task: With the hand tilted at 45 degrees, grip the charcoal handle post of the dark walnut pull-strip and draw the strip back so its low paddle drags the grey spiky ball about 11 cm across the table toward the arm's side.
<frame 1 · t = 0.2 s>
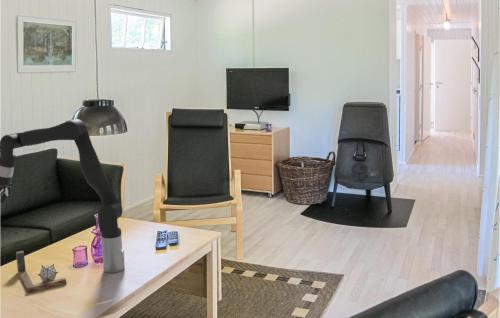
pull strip: (40, 267, 225), point 5 cm above the table, slide at 0.0 cm
grey spiky ball: (48, 282, 223), on the table
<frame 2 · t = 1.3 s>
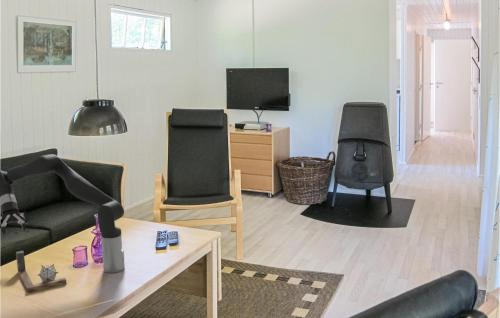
hand: (14, 232, 239), 17 cm above the table, tool tilted 45°, fingers open, 8 cm apart
nothing on the table moved.
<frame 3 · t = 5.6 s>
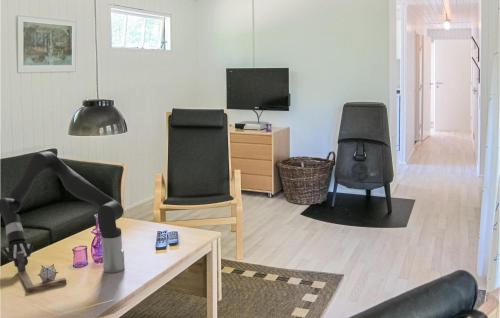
hand: (21, 265, 230), 4 cm above the table, tool tilted 45°, fingers closed on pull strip, 3 cm apart
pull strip: (40, 267, 225), point 5 cm above the table, slide at 0.0 cm, touching gripper
everything else where it was.
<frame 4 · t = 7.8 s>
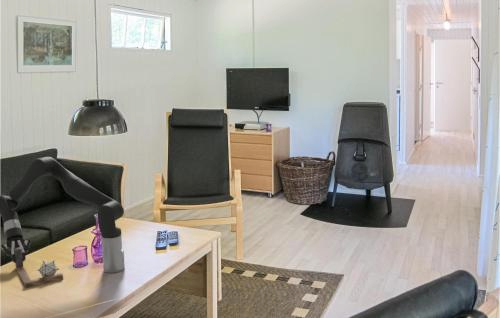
hand: (19, 261, 235), 4 cm above the table, tool tilted 45°, fingers closed on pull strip, 3 cm apart
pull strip: (37, 263, 230), point 5 cm above the table, slide at 6.1 cm, touching gripper
grey spiky ball: (49, 278, 227), on the table
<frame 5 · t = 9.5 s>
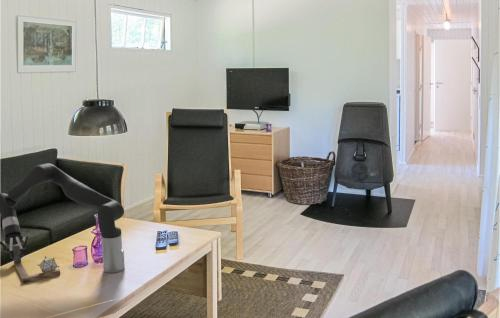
hand: (17, 257, 239), 4 cm above the table, tool tilted 45°, fingers closed on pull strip, 3 cm apart
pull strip: (35, 259, 235), point 5 cm above the table, slide at 11.7 cm, touching grey spiky ball, gripper
grey spiky ball: (49, 274, 232), on the table, touching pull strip
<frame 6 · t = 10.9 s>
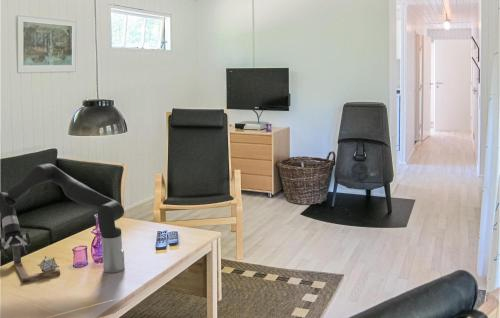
hand: (17, 255, 240), 6 cm above the table, tool tilted 45°, fingers open, 8 cm apart
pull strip: (35, 259, 235), point 5 cm above the table, slide at 11.8 cm
grey spiky ball: (49, 274, 232), on the table
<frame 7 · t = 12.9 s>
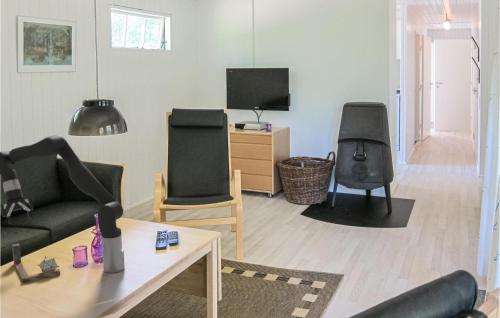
hand: (20, 221, 241), 21 cm above the table, tool tilted 20°, fingers open, 8 cm apart
nothing on the table moved.
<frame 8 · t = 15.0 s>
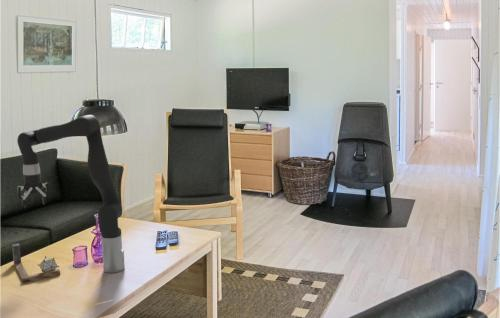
hand: (34, 205, 238), 30 cm above the table, tool pointing down, fingers open, 8 cm apart
nothing on the table moved.
at the end: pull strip slide at 11.8 cm; grey spiky ball inside the target area (2.3 cm from its centre), on the table; grey spiky ball tilted 0° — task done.
